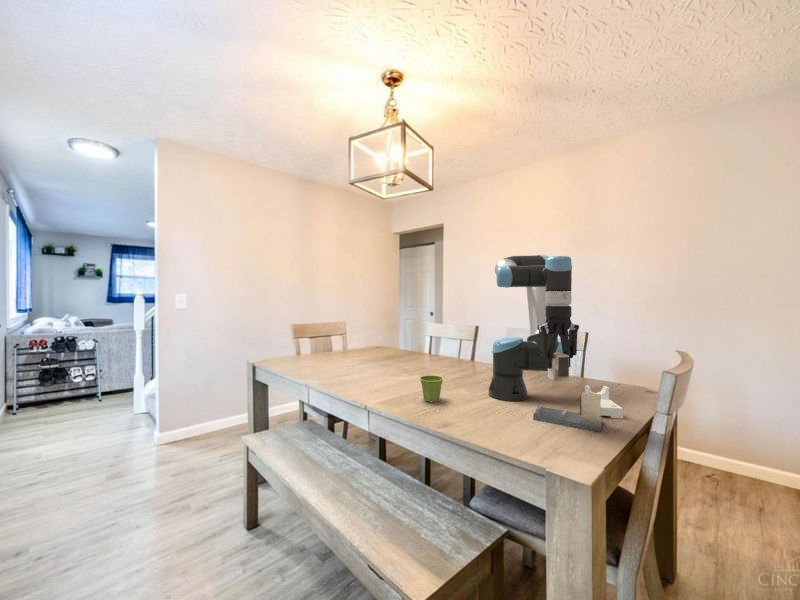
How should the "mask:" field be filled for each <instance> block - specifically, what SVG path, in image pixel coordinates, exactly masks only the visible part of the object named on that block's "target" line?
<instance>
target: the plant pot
mask: <svg viewBox="0 0 800 600" xmlns="http://www.w3.org/2000/svg"><path fill="white" fill-rule="evenodd" d="M419 380H420V383H421V388H422V395H423V401H425V400H426V401H425V402H427V401H428V402H430V401H437V402H439V401H440V399H441V389H442V384H443V381H444V380H445V378H444V377H443V376H441V375H434V374H433V375H431V374H429V375H426V374H425V375H421V376H420V377H419ZM438 400H439V401H438Z"/></svg>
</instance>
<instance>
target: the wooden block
mask: <svg viewBox="0 0 800 600" xmlns="http://www.w3.org/2000/svg"><path fill="white" fill-rule="evenodd" d="M553 358H554V359H555V379H554V380H553V381H556V382H567V381H569V380H570V367H569V355H566V354H562V353H559V352H558V353H554V354H553ZM549 379H551V378H549ZM551 380H552V379H551Z"/></svg>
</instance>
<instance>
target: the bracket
mask: <svg viewBox="0 0 800 600" xmlns="http://www.w3.org/2000/svg"><path fill="white" fill-rule="evenodd" d="M584 392H587V393H594V394H601V416H602V417H604V416H606V417H607V416H608V417H609V418H611V419H624V408H623V407H622V406H620V405H619V404H617V403H615V402H614V401H613V400H611V399H610V387H608V386H606V385H603V386H602V389H601V390H599V391H598V392H594V391H592V389H591V386H590V385H588V384H587V385H584Z"/></svg>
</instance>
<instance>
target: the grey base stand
mask: <svg viewBox="0 0 800 600" xmlns="http://www.w3.org/2000/svg"><path fill="white" fill-rule="evenodd" d="M594 393H595V392H594ZM594 393H587V392H585V391H582V393H580V396H579V412H574V411H570V410H568V409H567V408H564V409H558V408H557V409H556V408H551V407H546V406H543V404H538V406H537V408H536V409H535V412H534V413H533V414H532V420H534V421H540V422H544V421H545V422H546V423H549V422H550V423H551V424H555V425H561V426H566V427H569V428H570V427H571V428H577V429H582V430H586V431H591V432H596V433H597V432H598V433H601V430H602V427H603V422H604V419H603V417H604V416H602V415H601V394H594Z"/></svg>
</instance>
